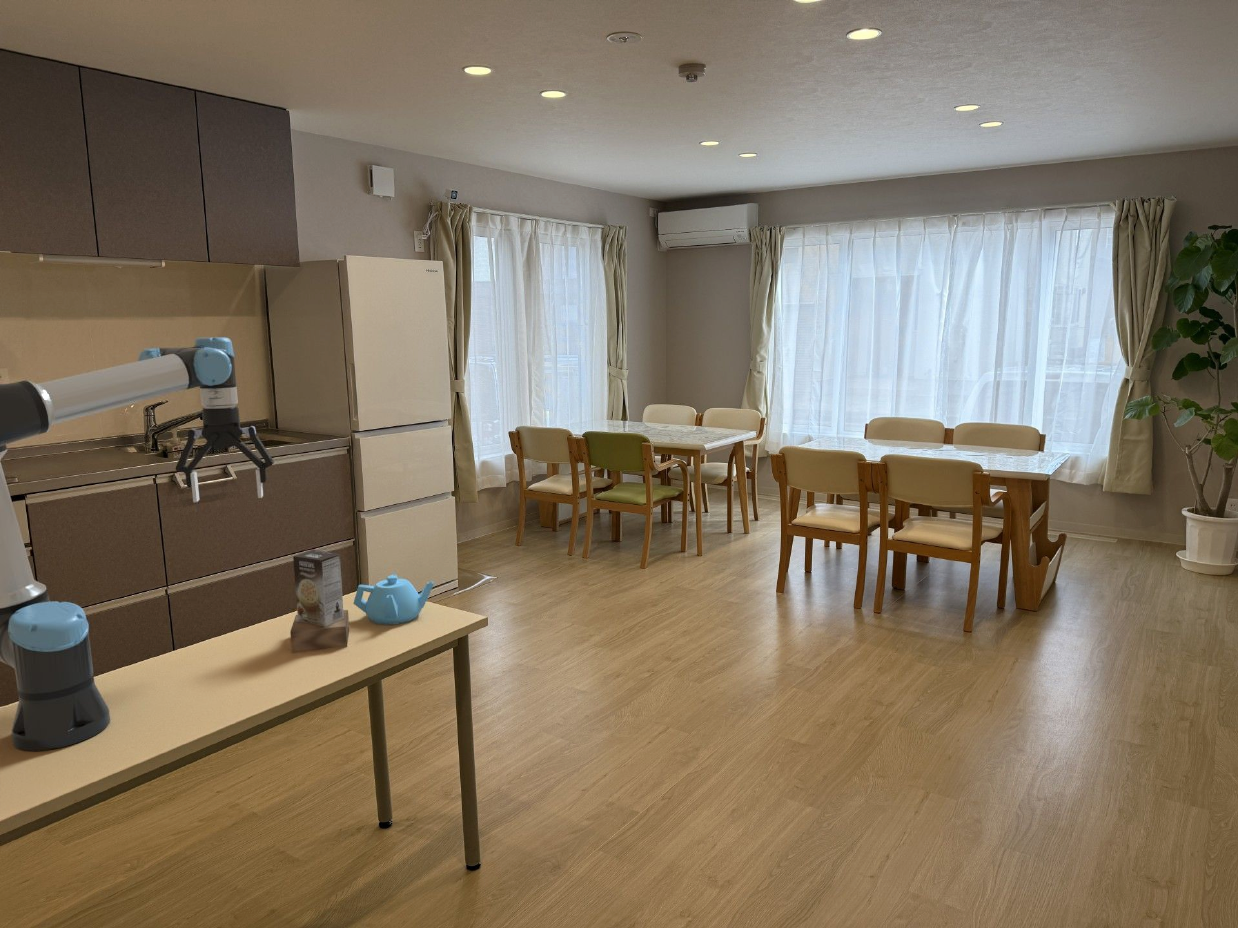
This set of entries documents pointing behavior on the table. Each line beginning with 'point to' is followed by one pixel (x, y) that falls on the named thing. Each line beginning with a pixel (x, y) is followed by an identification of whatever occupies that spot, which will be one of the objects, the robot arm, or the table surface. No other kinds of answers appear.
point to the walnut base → (319, 635)
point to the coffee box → (318, 587)
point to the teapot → (392, 600)
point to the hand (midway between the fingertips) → (228, 499)
